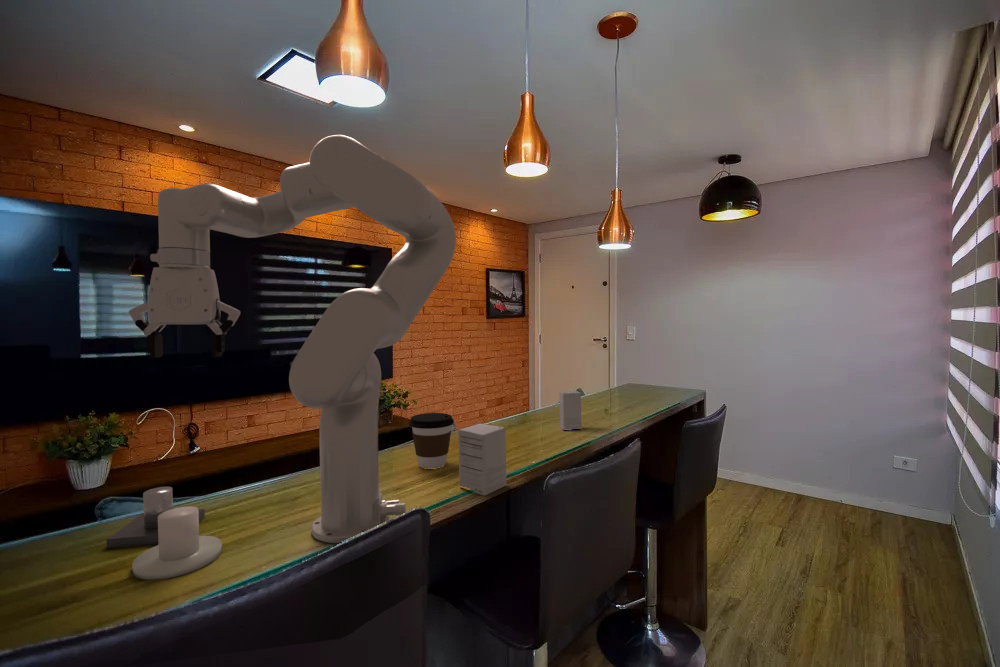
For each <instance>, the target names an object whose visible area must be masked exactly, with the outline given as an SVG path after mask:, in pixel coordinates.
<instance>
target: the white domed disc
mask: <svg viewBox="0 0 1000 667" xmlns="http://www.w3.org/2000/svg"><path fill="white" fill-rule="evenodd" d="M222 543H223V542H222V540H221V539H220V538H219V537H216V536H213V535H212V536H211V535H199V550H198V551H197V552H196V553H195V554H193V555H191V556H189V557H186V558H184V559H180V560H175V561H161V560H160V559H159V545H158V544H156V545H154V546H153V547H151V548H148V549H146V551H143V552H142V553H140V554H139V555H138V556H136V557H135V558H134V560H133V561H132V566H131V570H132V575H133V576H134V577H135V578H137V579H140V580H145V581H146V580H147V581H154V580H156V581H157V580H165V579H170V578H176V577H180V576H182V575H186V574H189V573H191V572H195V571H198V570H199V569H201V568H204V567H206V566H208V565H210V563H212V562H214V561H215V560H216V559H217V558H218V557H220V555H221V553H222V551H223V544H222Z"/></svg>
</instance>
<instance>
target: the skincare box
mask: <svg viewBox="0 0 1000 667" xmlns="http://www.w3.org/2000/svg"><path fill="white" fill-rule="evenodd" d="M558 396H559V397H558V398H559V428H560V427H561V428H563V429H564V430H565V429H581V430H582V393H581V392H579V391H578V390H568V391H566V390H565V391H559V395H558ZM561 428H560V429H561Z"/></svg>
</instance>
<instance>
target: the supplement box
mask: <svg viewBox="0 0 1000 667" xmlns="http://www.w3.org/2000/svg"><path fill="white" fill-rule="evenodd" d="M457 431H458V464H459V465H458V468H459V470H458V472H459V473H458V475H459V476H458V477H459V478H458V479H459V487H460V486H463V487H467V488H470V489H472V490H474V491H475V493H474V494H477V495H481V496H484V497H485V496H487V495H490V494H491V493H494V492H496V491H497V490H500V489H502V488H504V487H506V486H507V448H506V447H507V445H506V442H507V441H506V434H507V433H506V427H503V426H499V425H490V424H485V423H478V424H474V425H470V426H468V427H464V428H463V427H462V428H460V429H458V430H457Z"/></svg>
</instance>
